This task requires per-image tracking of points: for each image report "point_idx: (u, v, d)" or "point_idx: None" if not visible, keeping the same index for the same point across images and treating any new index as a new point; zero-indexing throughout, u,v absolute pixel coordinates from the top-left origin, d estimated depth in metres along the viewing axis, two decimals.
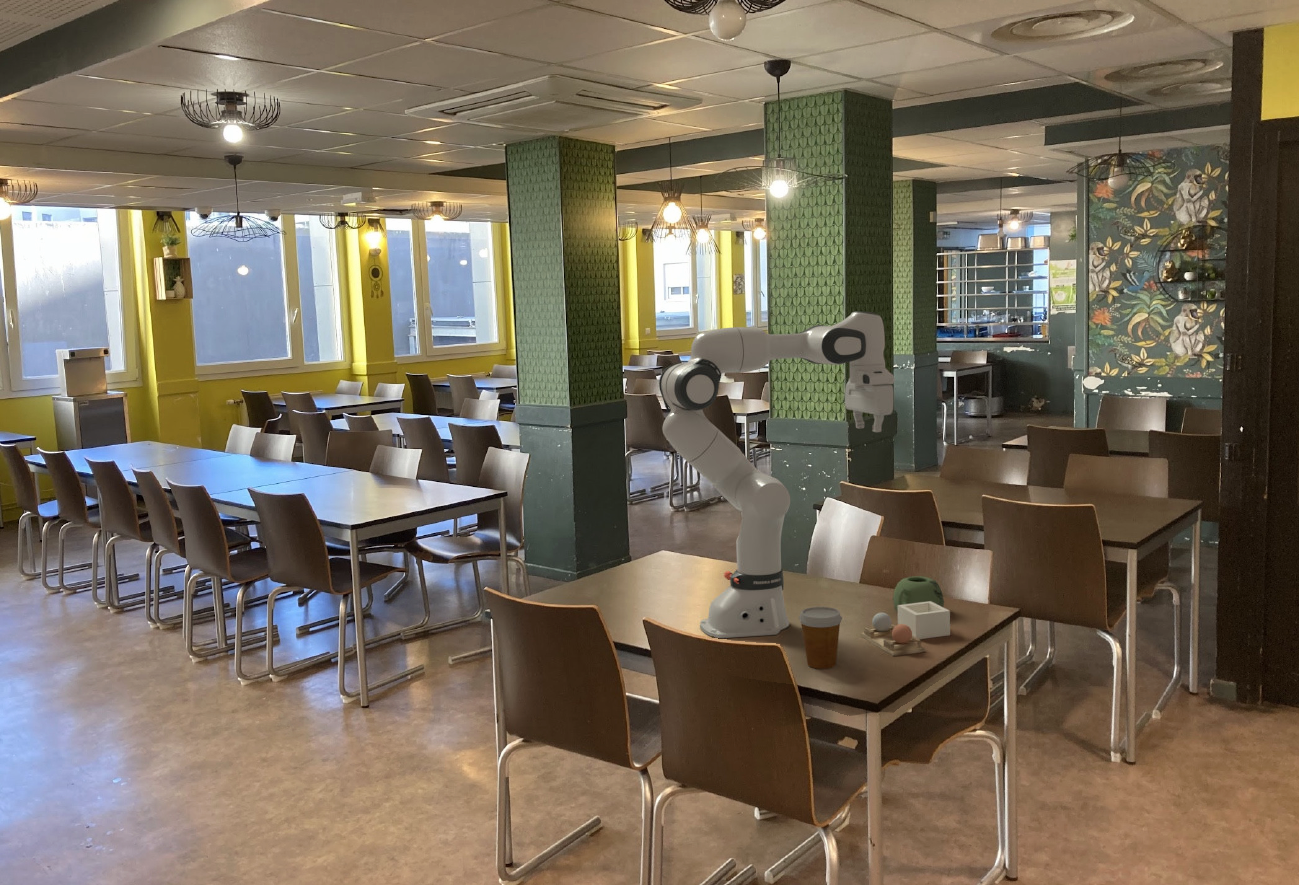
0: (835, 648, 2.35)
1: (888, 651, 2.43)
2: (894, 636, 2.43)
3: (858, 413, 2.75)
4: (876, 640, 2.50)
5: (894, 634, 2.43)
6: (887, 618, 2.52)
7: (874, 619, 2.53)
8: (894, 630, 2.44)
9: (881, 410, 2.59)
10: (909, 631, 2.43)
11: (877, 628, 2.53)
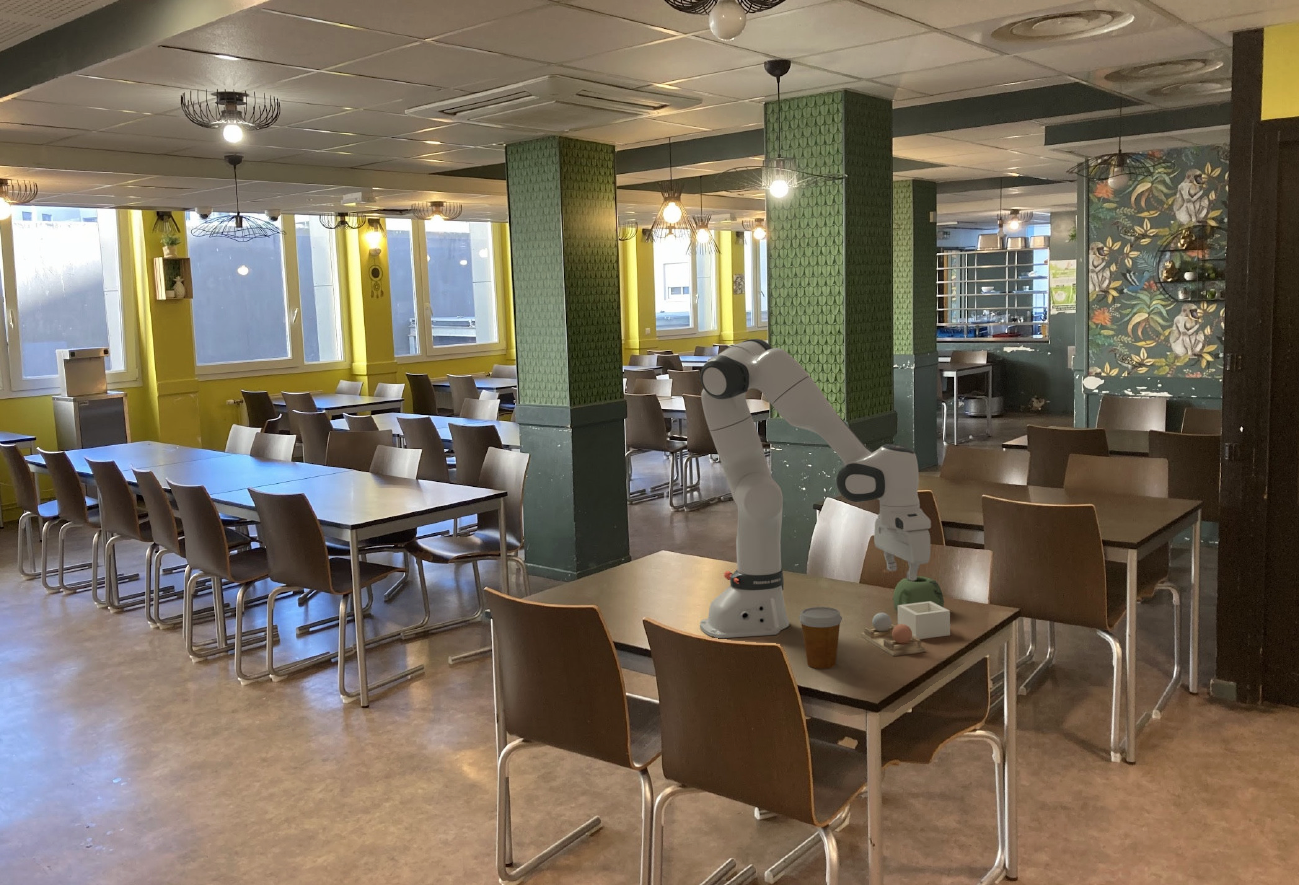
0: (835, 648, 2.35)
1: (888, 651, 2.43)
2: (894, 636, 2.43)
3: (889, 554, 2.47)
4: (876, 640, 2.50)
5: (894, 634, 2.43)
6: (887, 618, 2.52)
7: (874, 619, 2.53)
8: (894, 630, 2.44)
9: (917, 559, 2.32)
10: (909, 631, 2.43)
11: (877, 628, 2.53)
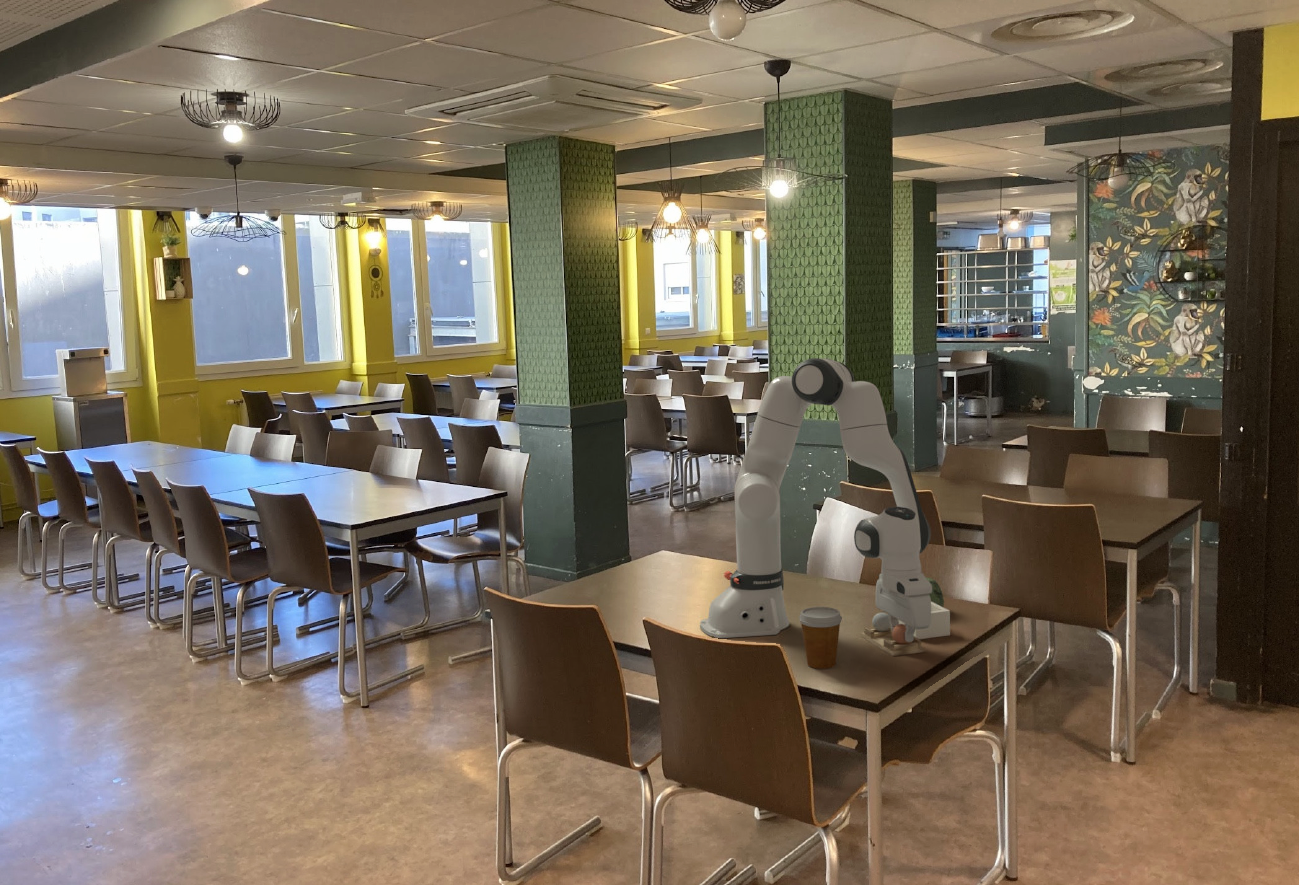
0: (835, 648, 2.35)
1: (888, 651, 2.43)
2: (894, 636, 2.43)
3: (894, 617, 2.47)
4: (876, 640, 2.50)
5: (894, 634, 2.43)
6: (887, 618, 2.52)
7: (874, 619, 2.53)
8: (894, 630, 2.44)
9: (918, 624, 2.34)
10: None
11: (877, 628, 2.53)
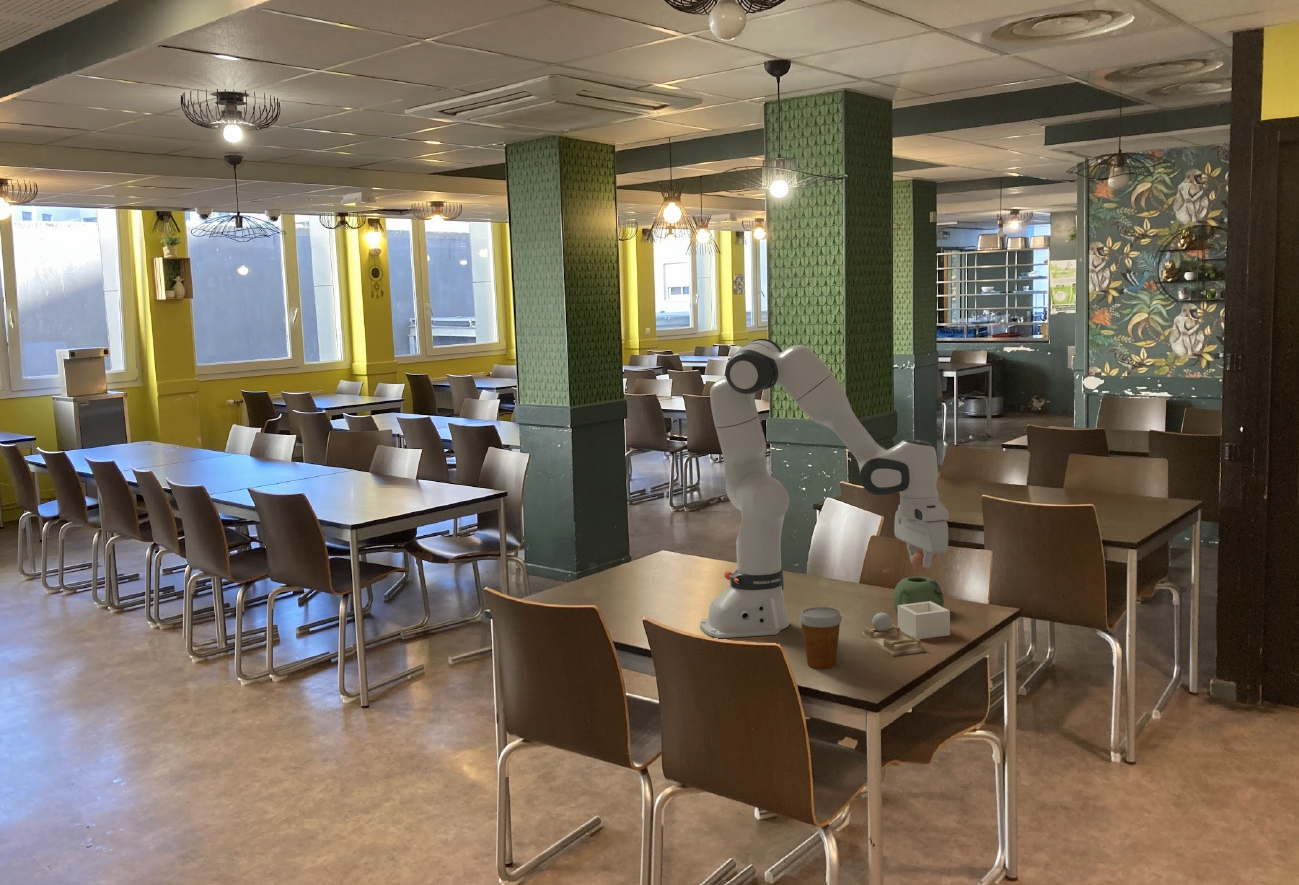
0: (835, 648, 2.35)
1: (888, 651, 2.43)
2: (913, 563, 2.52)
3: (912, 545, 2.55)
4: (876, 640, 2.50)
5: (913, 561, 2.52)
6: (887, 618, 2.52)
7: (874, 619, 2.53)
8: (913, 557, 2.52)
9: (935, 549, 2.42)
10: None
11: (877, 628, 2.53)
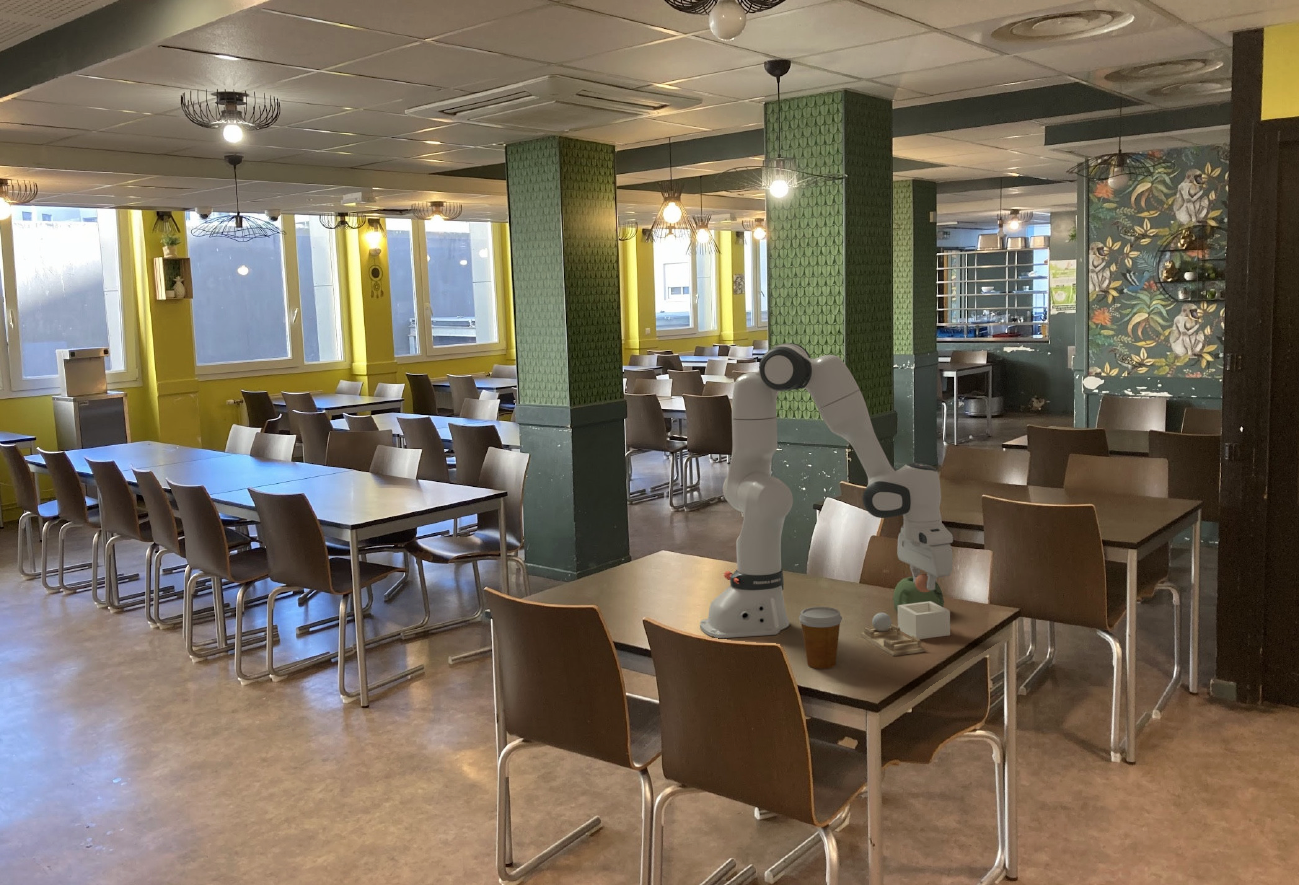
0: (835, 648, 2.35)
1: (888, 651, 2.43)
2: (917, 585, 2.55)
3: (916, 567, 2.58)
4: (876, 640, 2.50)
5: (917, 583, 2.54)
6: (887, 618, 2.52)
7: (874, 619, 2.53)
8: (917, 579, 2.55)
9: (940, 572, 2.45)
10: None
11: (877, 628, 2.53)
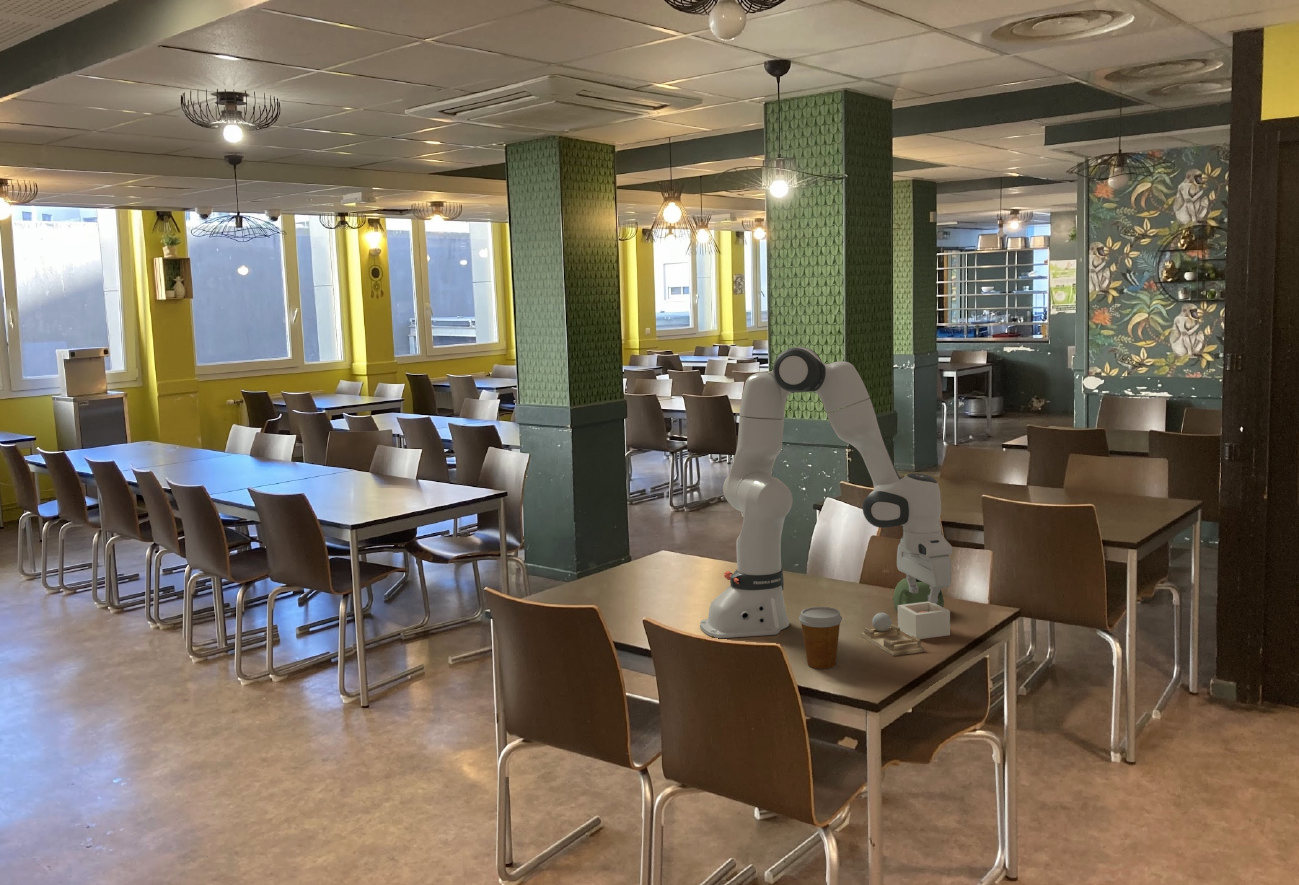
0: (835, 648, 2.35)
1: (888, 651, 2.43)
2: None
3: (911, 577, 2.60)
4: (876, 640, 2.50)
5: None
6: (887, 618, 2.52)
7: (874, 619, 2.53)
8: None
9: (939, 583, 2.45)
10: None
11: (877, 628, 2.53)
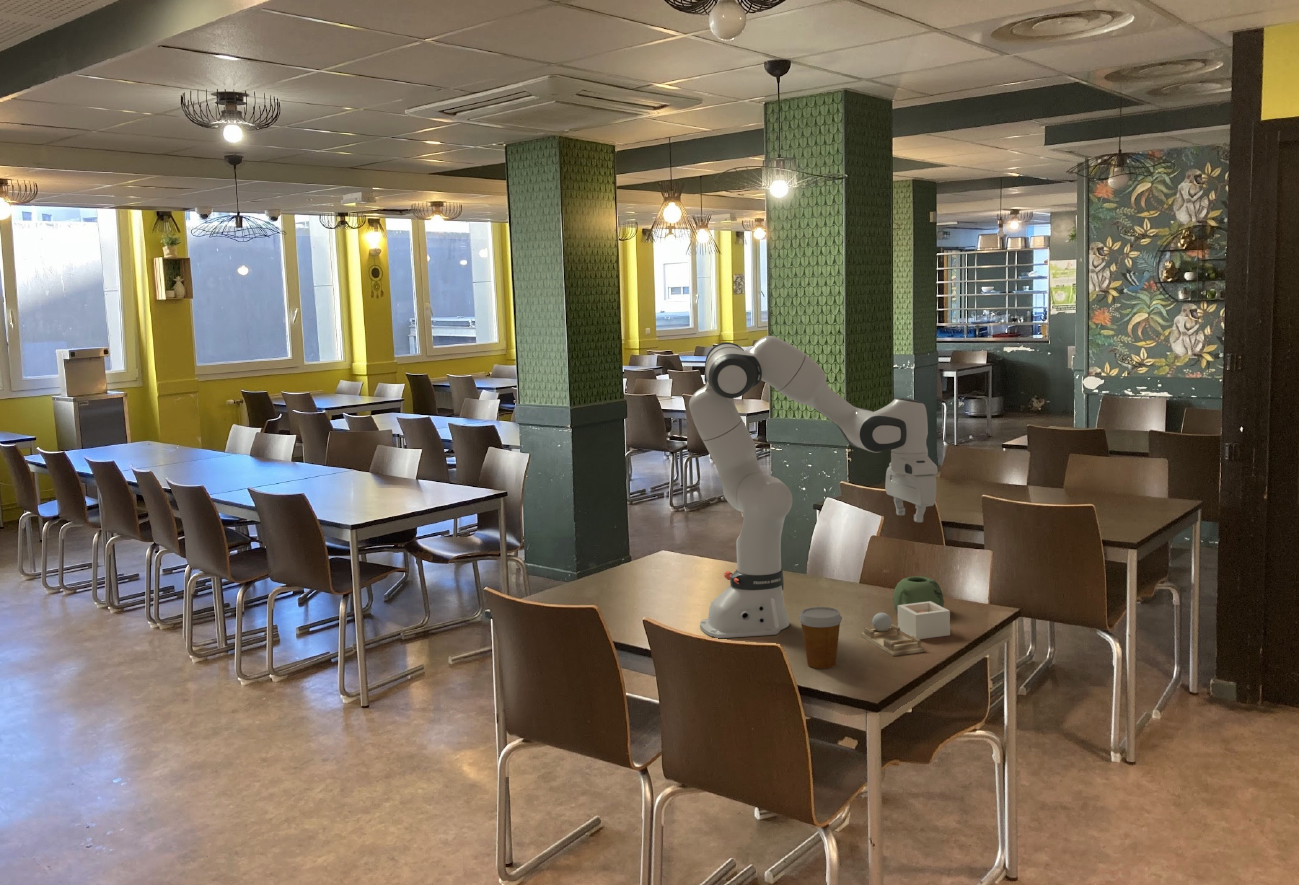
0: (835, 648, 2.35)
1: (888, 651, 2.43)
2: None
3: (899, 499, 2.68)
4: (876, 640, 2.50)
5: None
6: (887, 618, 2.52)
7: (874, 619, 2.53)
8: None
9: (923, 501, 2.53)
10: None
11: (877, 628, 2.53)
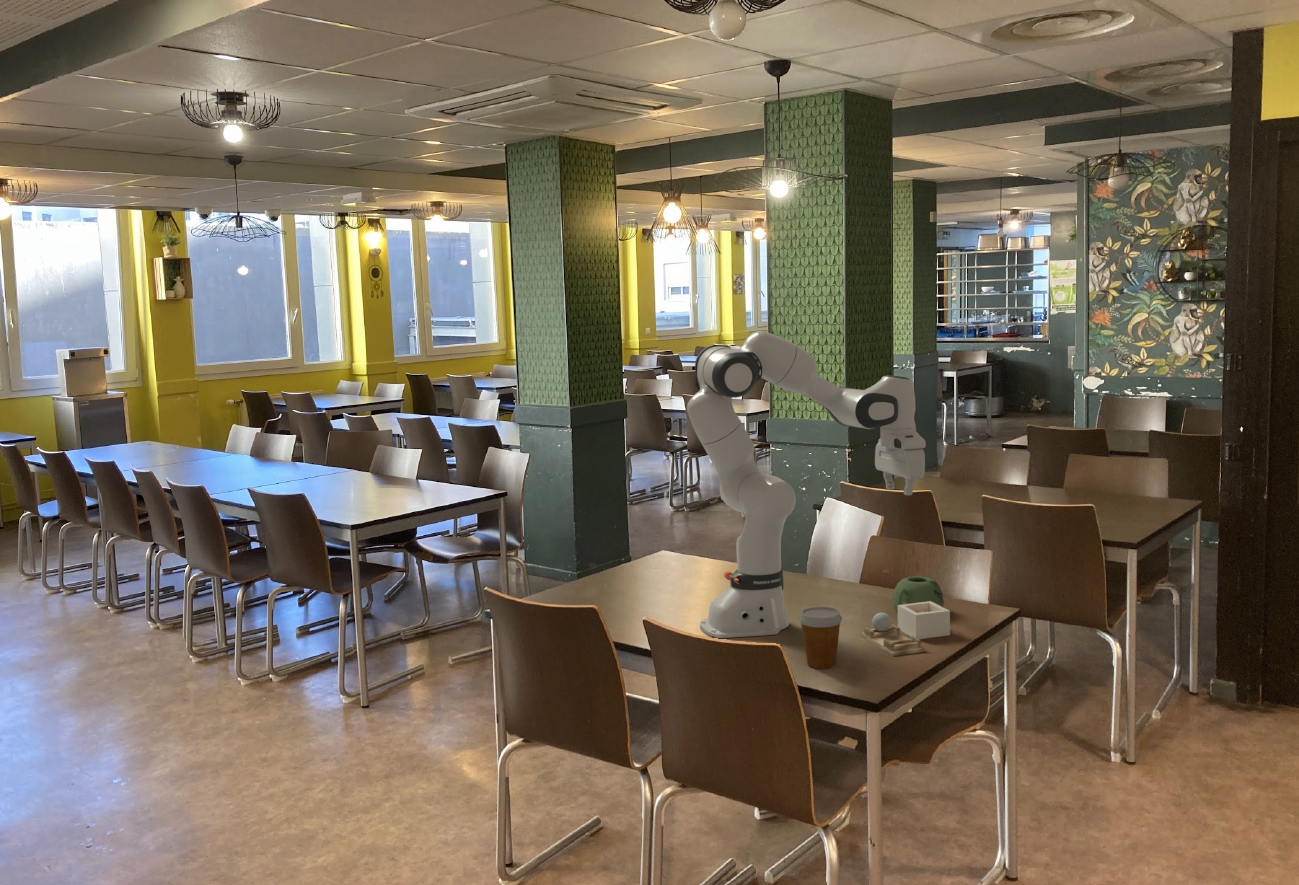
0: (835, 648, 2.35)
1: (888, 651, 2.43)
2: None
3: (888, 474, 2.77)
4: (876, 640, 2.50)
5: None
6: (887, 618, 2.52)
7: (874, 619, 2.53)
8: None
9: (913, 474, 2.62)
10: None
11: (877, 628, 2.53)
